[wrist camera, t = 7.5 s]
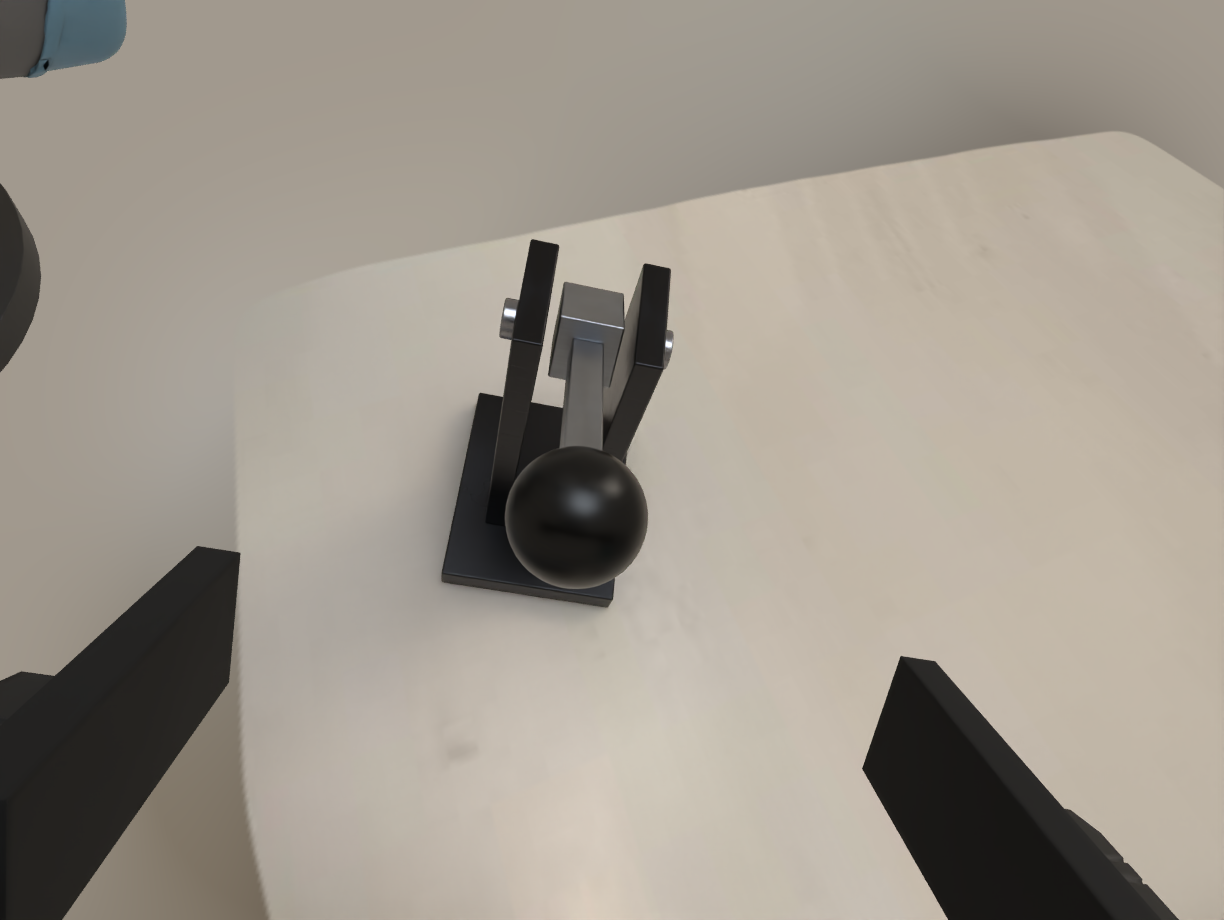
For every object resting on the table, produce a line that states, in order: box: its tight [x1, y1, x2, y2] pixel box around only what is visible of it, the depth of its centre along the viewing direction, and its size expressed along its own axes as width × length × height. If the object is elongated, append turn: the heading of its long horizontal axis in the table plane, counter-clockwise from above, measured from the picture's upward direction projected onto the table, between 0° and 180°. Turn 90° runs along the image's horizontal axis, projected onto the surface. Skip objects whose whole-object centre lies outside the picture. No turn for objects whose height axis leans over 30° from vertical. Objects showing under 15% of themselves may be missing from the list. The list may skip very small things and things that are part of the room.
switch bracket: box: [442, 239, 674, 607], centre depth 34 cm, size 10×8×16 cm
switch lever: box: [505, 282, 648, 589], centre depth 24 cm, size 13×4×4 cm, turn 175°
